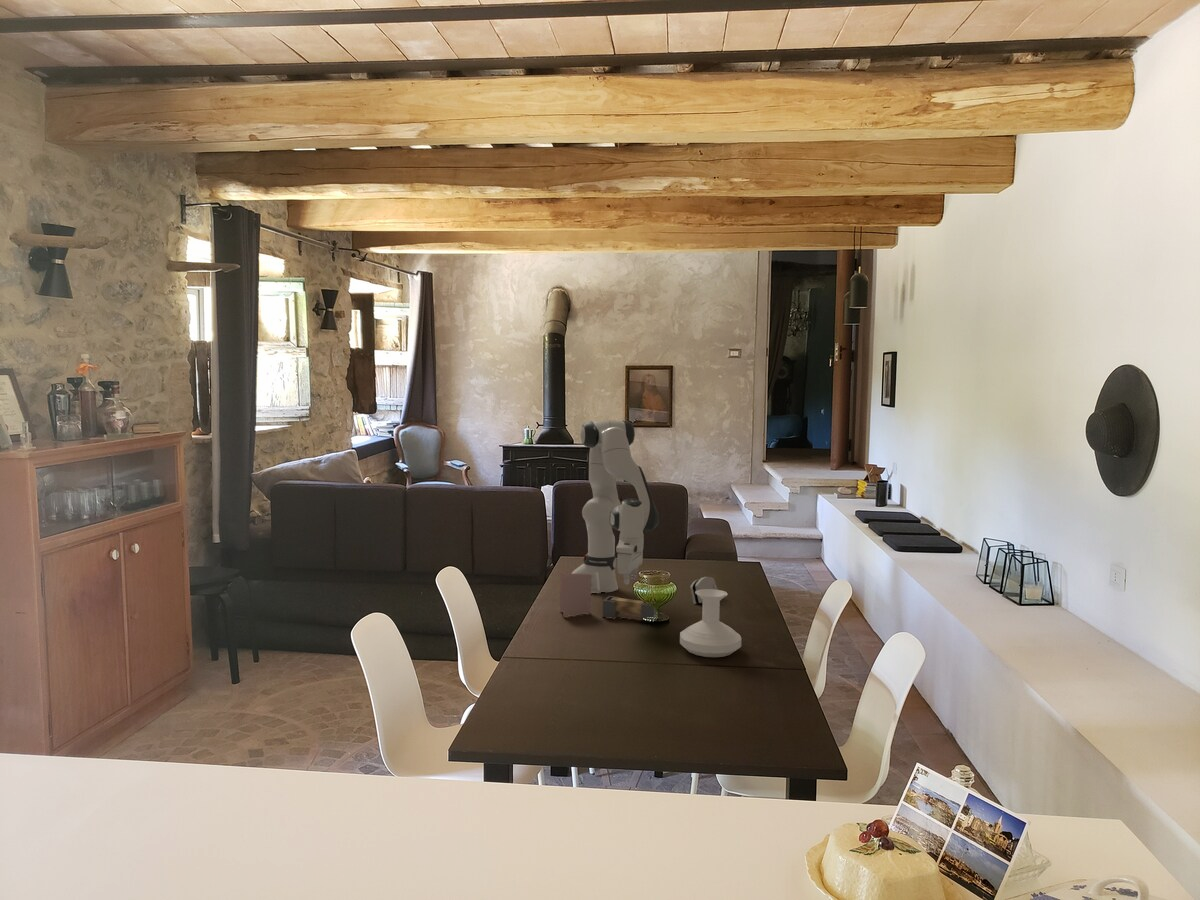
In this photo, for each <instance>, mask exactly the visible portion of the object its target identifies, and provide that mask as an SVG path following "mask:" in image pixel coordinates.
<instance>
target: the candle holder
mask: <svg viewBox="0 0 1200 900" xmlns="http://www.w3.org/2000/svg"><path fill="white" fill-rule="evenodd" d="M695 593H696V594H697V595H698V596H699V597H700V598H701V599H703V602H702V607H701V608H702V609H701V610H702V611H701V613H702V615H701V616H702V617H701V620H699V621H698V622H697V621H696V623H692V625H691V624H690V625H689V626H687V627H686V628H685V629H683V630H682V631H680V632H679V644H680V645H681V646H682V647H683V648H685V650H686V651H688V652H689V653H690V654H693V655H696V656H700V657H704V658H722V657H723V658H724V657H726V656H730V655H732V654H733V653H735V652H736V651H737V650H738V649H740V648H741V647H742V636H741V635H740V634H739V633H738V632H737V631H736V630H734V629H733V628H732V627H731V626H729V625H727V624H725V623H724V622H722V621H720V607H721V606H720V604H721V602H720V601H721V600H723V599H724V598H725V597H727V596H728V593H727V591H724V590H721V589H718V590H716V589H701V590H697V591H695Z"/></svg>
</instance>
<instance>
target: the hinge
mask: <svg viewBox="0 0 1200 900" xmlns="http://www.w3.org/2000/svg"><path fill="white" fill-rule="evenodd" d="M689 587H690V588H689V589H690V594H691V598H692V602H693V605H697V604H703V599H701V598H700V597H699V596H698V595H697V594H696V593H695V591H697V590H701V589H716V590H719V588H718V586H717V584H716V581H715V579H714V577H712V576H704V577H700V578H697V579H695V580H694V581H693V582H692V583H691V585H690V586H689Z"/></svg>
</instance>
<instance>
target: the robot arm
mask: <svg viewBox="0 0 1200 900" xmlns="http://www.w3.org/2000/svg"><path fill="white" fill-rule="evenodd" d="M579 433H580V434H579V436H580V440H581V443H582V445H583V446H585V447H586V448H589V452H588V453H589V454H588V455H589V456H588V482H589V484H590V487H591V490H592V491H591V492H592V498H591V499H589V500H588V501H587V502H586V503H585V504H584V506H583V507H582V510H581V515H582V518H583V520H584V521H585V526H586V530H587V551H588V552H587V553H586V554H585V555H584V556H583V557H582V561H583V563H582V564H581V565H579V566H578V567H577V568H575V569H574V570H573V571H572V572H571V573H570V574H591V594H592V593H597V594H601V592H605V593H611V592H612V593H613V592H615V591H618V590H619V587H618V583H617V576H616V566H617V571H618V573H617V574H619V575H622V576H623V577H622V578H623V584H624V585H625V586H626V585H627V586H628V585H629V584H630V583H631V582H630V581H631V580H636V579H637V575H638V569H639V567H640V566H641V565H642V564H643V561H644V560H643V559H644V557H643V556H644V554H643V550H644V540H645V539H644V532H652V531H654V530H655V528H656V527H657V526H658V525H659V523H660V515H659V511H658V509H657V507H656V505H655V503H654V500H653V497H652V494H651V491H650V488H649V485H648V482H647V479H646V477H645V474H644V470H643V469H642V468H641V466H640V465H638V464H637V463H636V461H634V459H633V456H632V454H631V447H630V446H631V445H632V444H633V443H634V441H635V437H636V431H635V427H634V425H633V423H632V422H631V421H628V420H612V419H611V420H609V419H607V420H599V421H597V420H596V421H592V420H591V421H587V422H586V421H585V422H584V423H583V424H582V426H581V429H580V432H579ZM616 478H617V479H619V480H623V481H625V482H627V483H629V484H631V485H632V486H633V487H634V489H635V491H636V495H637V497H638V499H635V498H626V499H624V500H622V501H621V500H620V498H619V494H618V488H617V482H616V481H617V480H616ZM613 529H614V530H615V531H619V537H618V539H619V540H618V543H617V545H616V539H615V538H616V537H615V534H614V532H613ZM615 545H616V547H615ZM615 549H616V550H615ZM615 551H616V553H617V558H616V555H615V554H616V553H615Z"/></svg>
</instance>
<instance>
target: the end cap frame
mask: <svg viewBox="0 0 1200 900" xmlns="http://www.w3.org/2000/svg"><path fill="white" fill-rule="evenodd" d="M613 597H615V598H621V597H620V596H613V595H608V596H607V597H606V598H604V599H603V600H602V618H603V617H612V618H615V617H625V618H631V619H641V620H642V619H643V618H646V617H654V615H655V614H656V611H655V609H654V607H651V606H650V605H647V604H642V605H641V614H635V613H627V612H620V611H616V601H610V599H612V598H613ZM631 619H630V620H631Z"/></svg>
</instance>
